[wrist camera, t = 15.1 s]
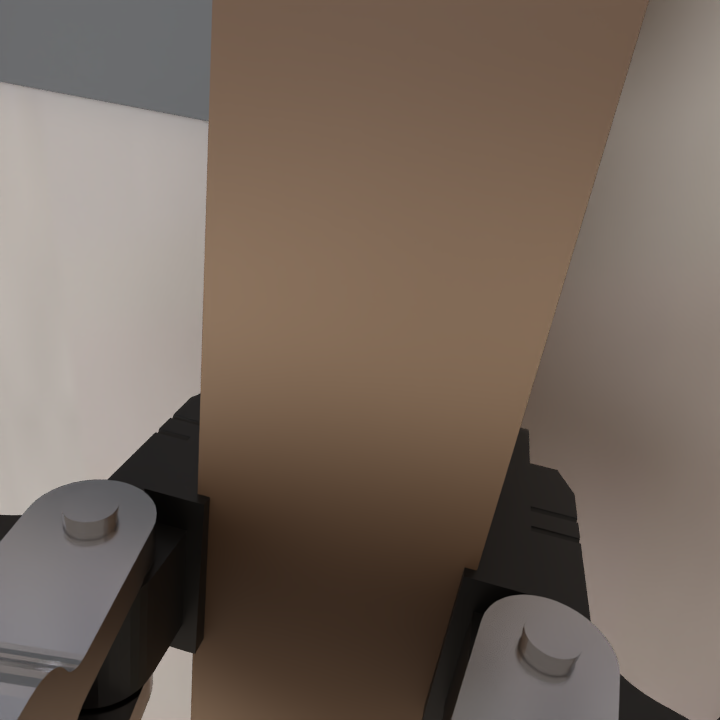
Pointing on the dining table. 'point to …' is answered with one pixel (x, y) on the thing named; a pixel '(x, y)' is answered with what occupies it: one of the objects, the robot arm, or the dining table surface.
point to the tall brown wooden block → (377, 321)
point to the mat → (112, 51)
